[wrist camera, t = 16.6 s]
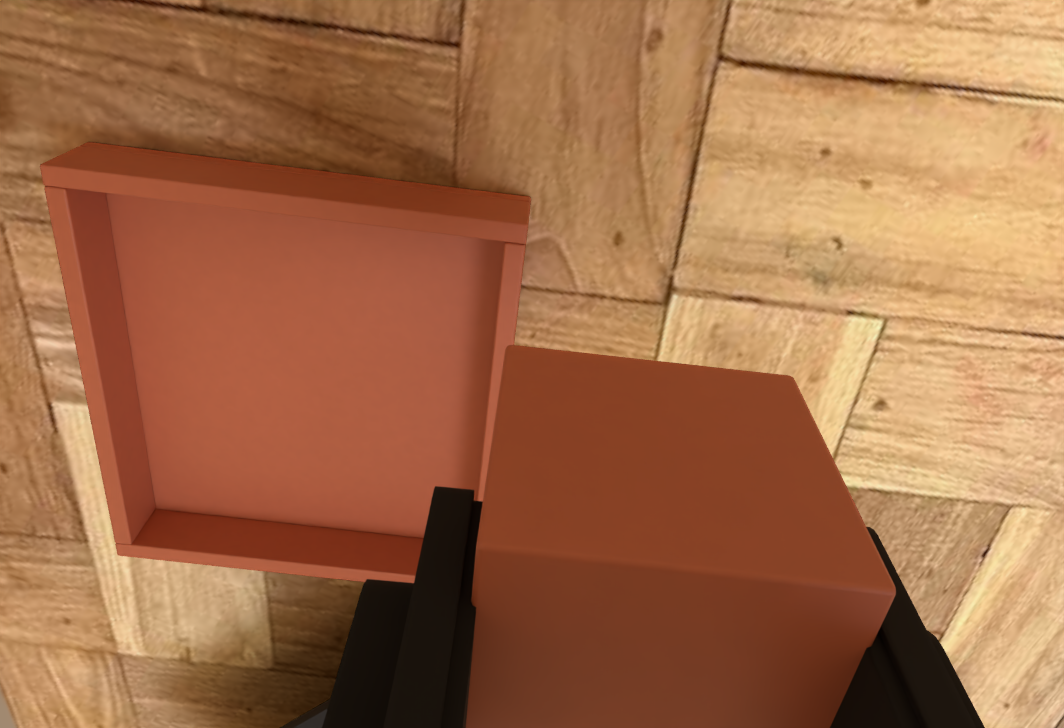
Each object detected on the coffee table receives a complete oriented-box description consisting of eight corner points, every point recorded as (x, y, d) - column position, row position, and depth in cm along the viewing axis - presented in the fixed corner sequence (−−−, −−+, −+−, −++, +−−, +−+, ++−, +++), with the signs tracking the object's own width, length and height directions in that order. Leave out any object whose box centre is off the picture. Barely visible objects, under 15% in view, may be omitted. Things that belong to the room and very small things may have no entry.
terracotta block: (506, 342, 12) (476, 546, 8) (794, 373, 12) (901, 591, 8) (485, 557, 14) (453, 797, 10) (727, 582, 14) (786, 831, 10)
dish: (87, 141, 23) (38, 163, 21) (531, 196, 23) (528, 224, 21) (148, 510, 30) (116, 556, 28) (489, 547, 30) (483, 595, 28)
